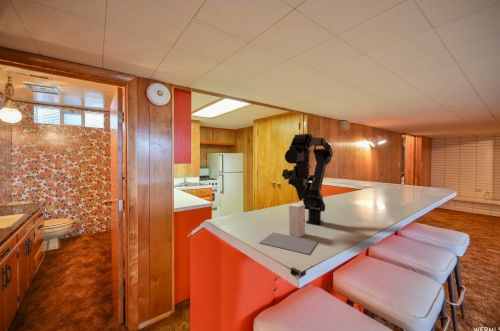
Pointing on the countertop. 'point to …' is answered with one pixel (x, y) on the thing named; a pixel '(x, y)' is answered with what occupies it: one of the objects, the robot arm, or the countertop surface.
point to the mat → (290, 243)
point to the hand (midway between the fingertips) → (302, 199)
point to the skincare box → (297, 220)
